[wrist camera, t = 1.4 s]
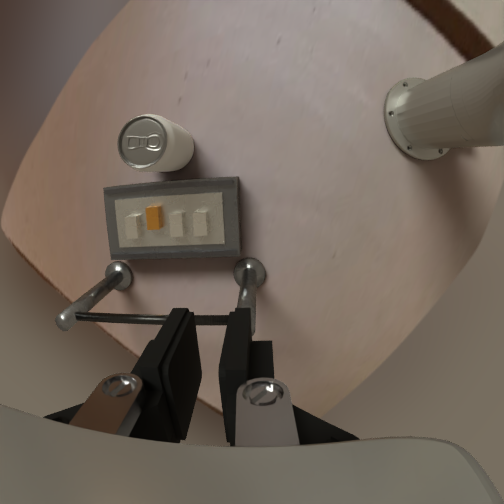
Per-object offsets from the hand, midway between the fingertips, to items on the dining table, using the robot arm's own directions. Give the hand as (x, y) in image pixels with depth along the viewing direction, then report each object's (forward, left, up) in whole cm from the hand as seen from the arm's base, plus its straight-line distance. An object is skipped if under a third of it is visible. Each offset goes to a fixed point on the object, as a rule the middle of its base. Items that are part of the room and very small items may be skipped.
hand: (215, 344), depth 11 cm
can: (+10, -10, -33) cm, 36 cm away
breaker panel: (+10, 0, -33) cm, 35 cm away
